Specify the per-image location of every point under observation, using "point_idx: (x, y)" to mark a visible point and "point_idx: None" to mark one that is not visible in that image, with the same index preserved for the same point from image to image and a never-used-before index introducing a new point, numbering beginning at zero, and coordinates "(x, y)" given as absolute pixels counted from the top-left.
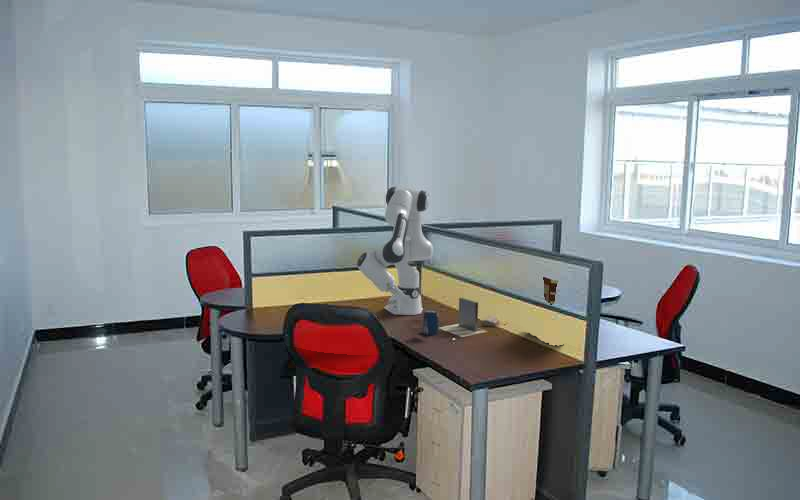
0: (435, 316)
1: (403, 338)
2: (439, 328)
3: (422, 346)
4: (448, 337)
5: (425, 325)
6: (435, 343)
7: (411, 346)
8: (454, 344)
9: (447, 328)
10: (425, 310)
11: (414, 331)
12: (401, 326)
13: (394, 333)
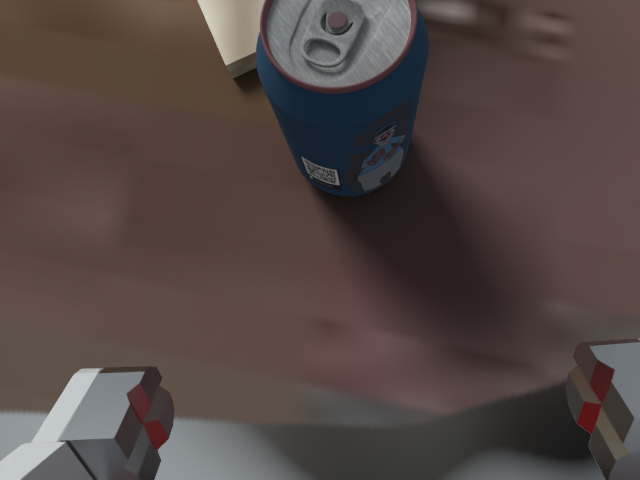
0: (419, 12)
1: (384, 370)
2: (245, 55)
3: (624, 262)
4: None
5: (384, 158)
6: (548, 150)
7: None
8: (583, 26)
9: (256, 2)
10: (291, 76)
11: (211, 243)
12: (57, 316)
13: (232, 416)
